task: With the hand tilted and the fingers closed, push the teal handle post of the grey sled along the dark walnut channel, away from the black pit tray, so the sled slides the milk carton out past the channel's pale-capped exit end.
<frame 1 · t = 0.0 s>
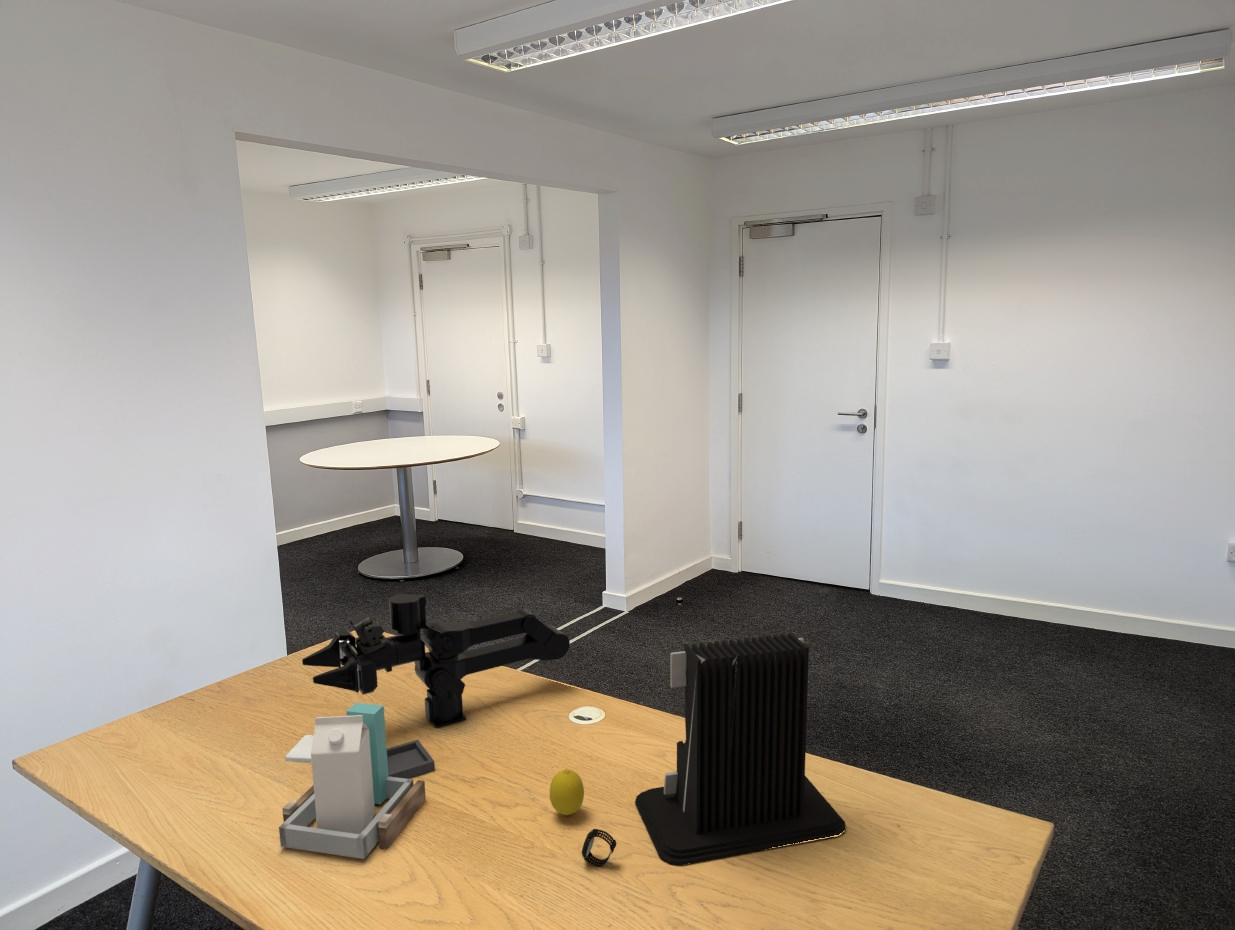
hand: (307, 670, 146), 17 cm above the table, tool horizontal, fingers open, 9 cm apart
smartwatch: (597, 865, 118), on the table
sled: (349, 825, 128), on the table, slide at 0.0 cm
milk carton: (347, 829, 127), on the table
black ribbed block: (737, 816, 130), on the table
channel: (357, 816, 130), on the table
pit tray: (402, 766, 145), on the table
lemon: (567, 816, 130), on the table
external hard drive: (328, 754, 151), on the table
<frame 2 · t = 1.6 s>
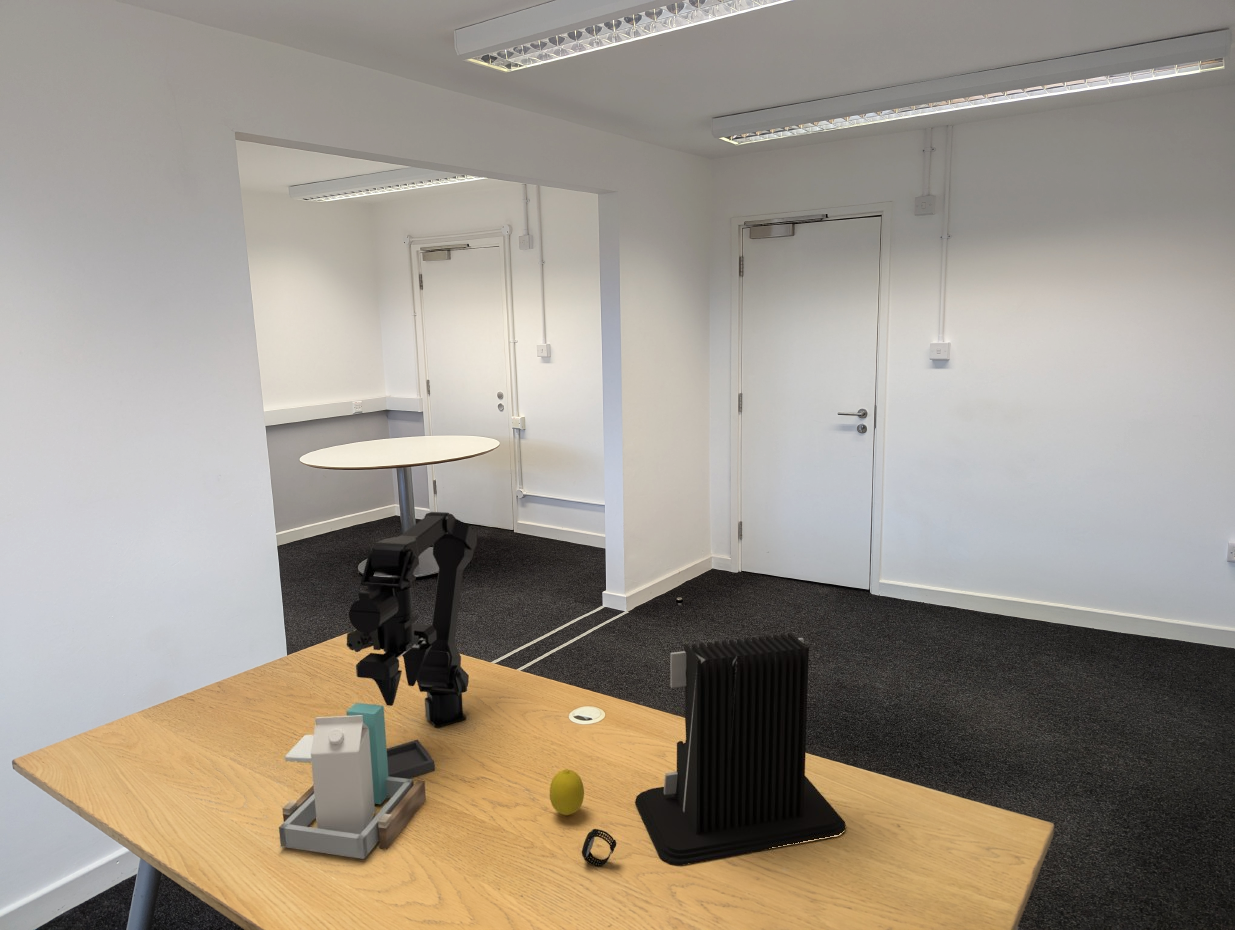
hand: (400, 695, 144), 13 cm above the table, tool pointing down, fingers open, 8 cm apart
nothing on the table moved.
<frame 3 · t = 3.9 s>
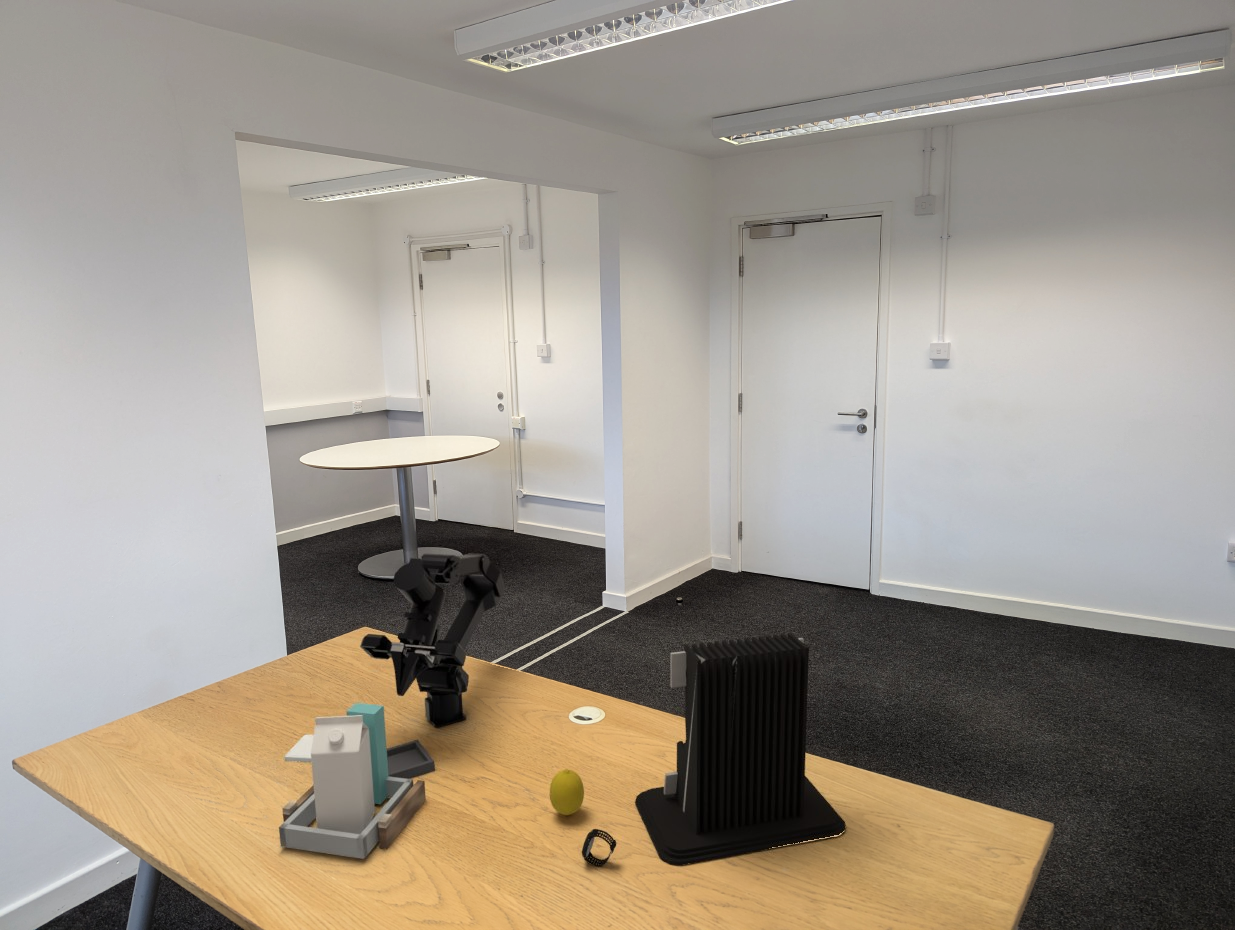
hand: (399, 695, 143), 13 cm above the table, tool tilted 45°, fingers closed
nothing on the table moved.
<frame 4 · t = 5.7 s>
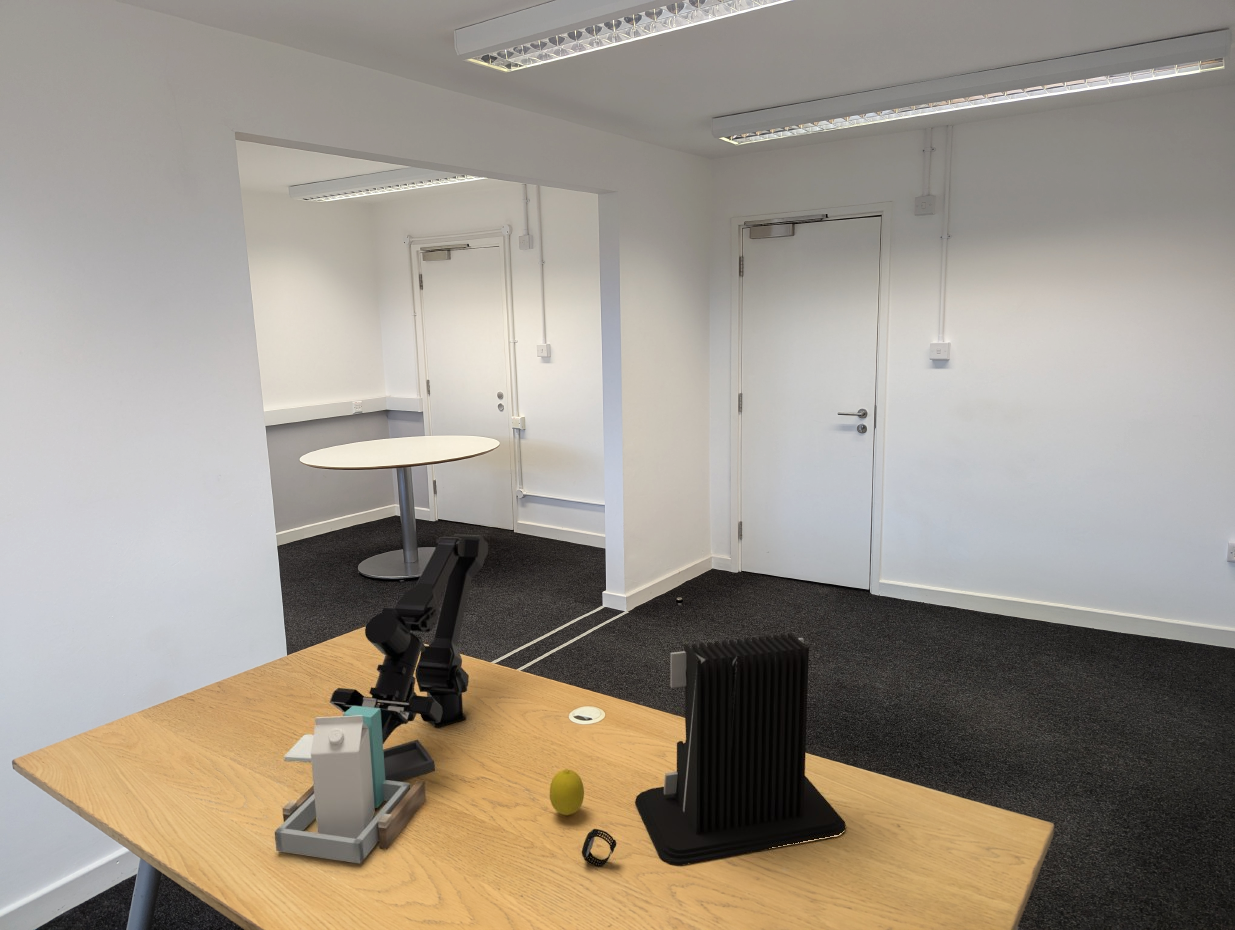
hand: (371, 755, 134), 8 cm above the table, tool tilted 45°, fingers closed, pressing on sled
sled: (345, 829, 127), on the table, slide at 1.1 cm, touching gripper
everything else where it was.
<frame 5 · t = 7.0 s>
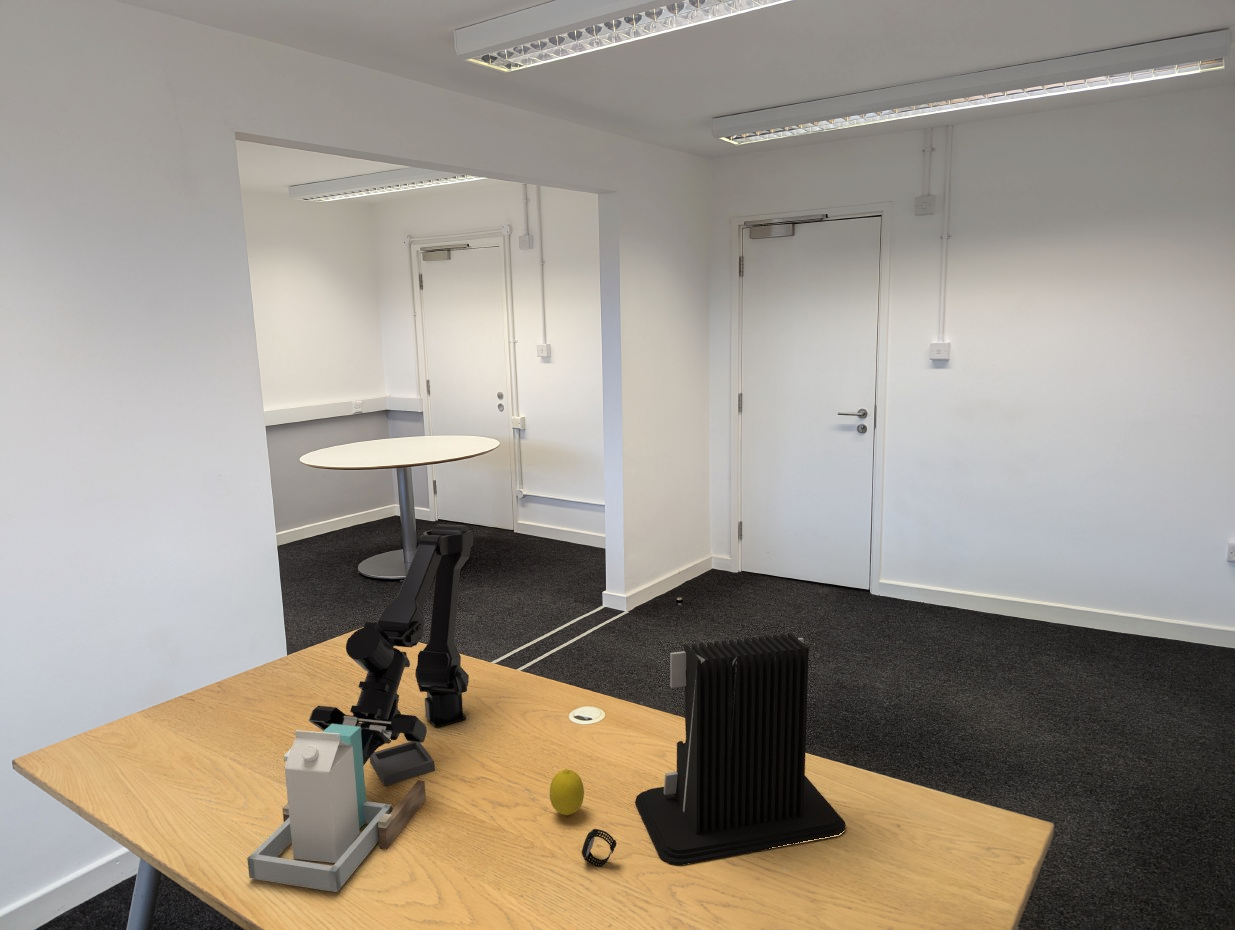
hand: (351, 777, 128), 7 cm above the table, tool tilted 45°, fingers closed, pressing on sled
sled: (323, 854, 121), on the table, slide at 7.2 cm, touching gripper, milk carton
milk carton: (327, 847, 123), on the table, touching sled
everything else where it was.
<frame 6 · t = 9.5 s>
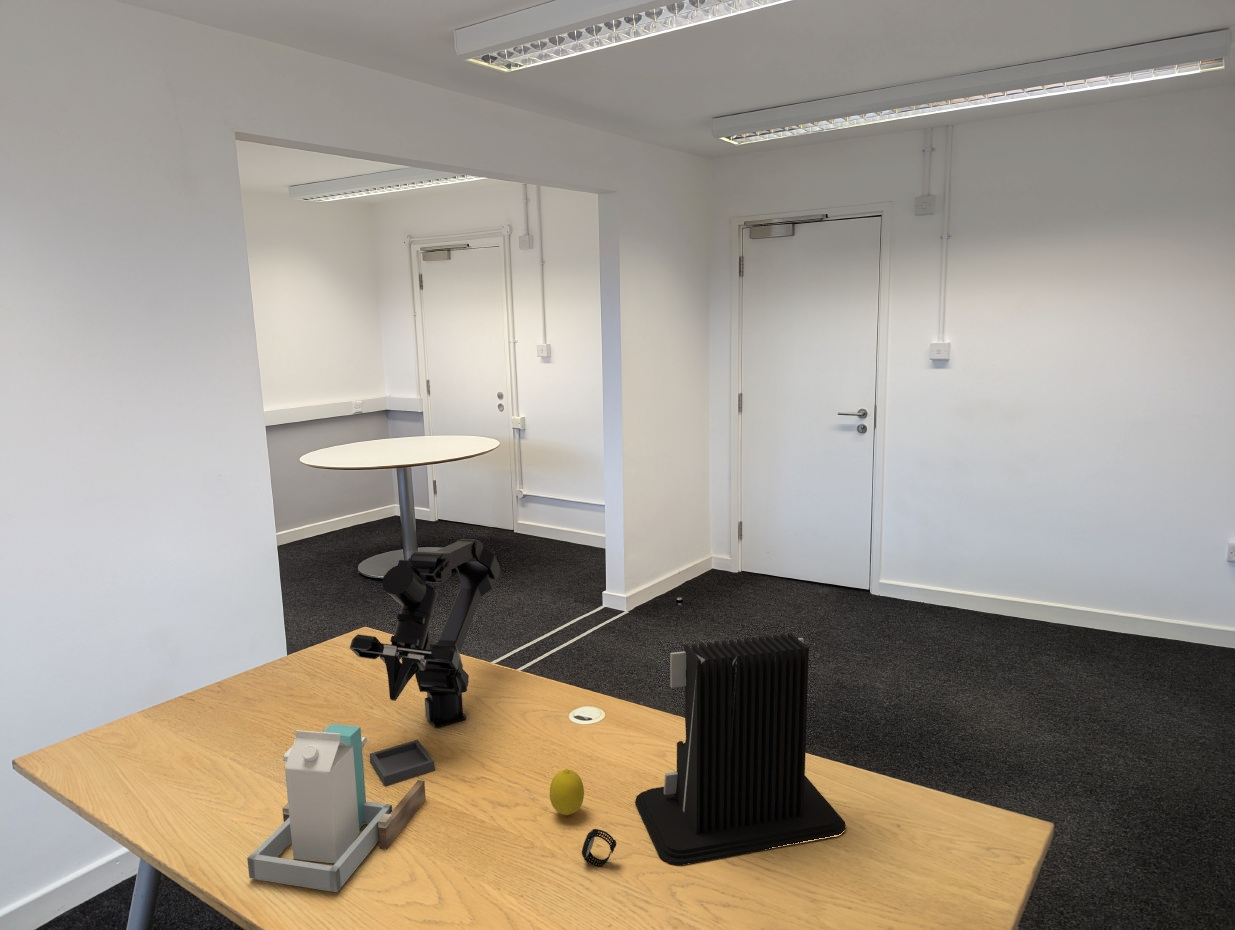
hand: (392, 700, 141), 14 cm above the table, tool tilted 40°, fingers closed
sled: (323, 854, 121), on the table, slide at 7.2 cm
milk carton: (327, 848, 123), on the table
everything else where it was.
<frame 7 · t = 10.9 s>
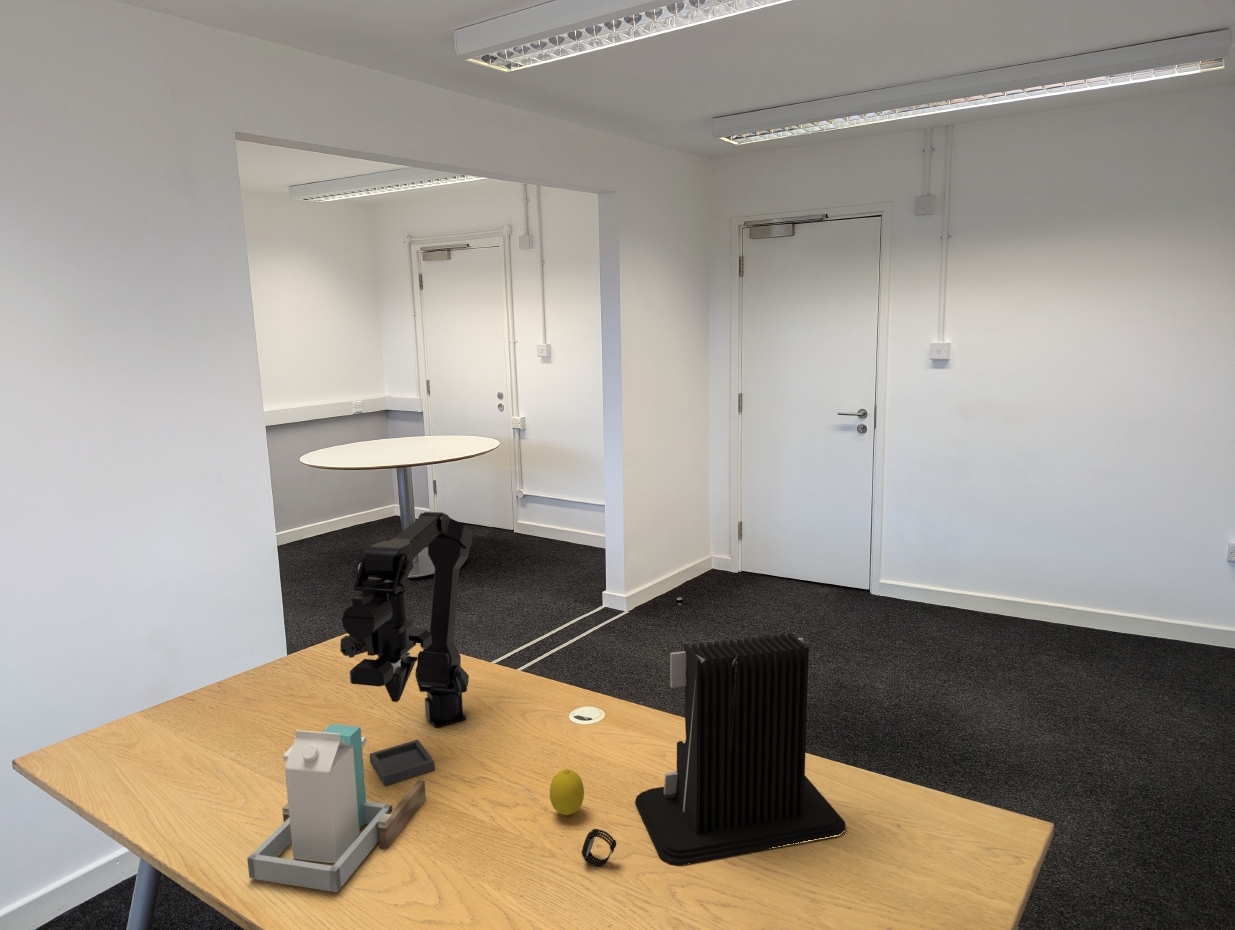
hand: (395, 701, 142), 13 cm above the table, tool pointing down, fingers closed
nothing on the table moved.
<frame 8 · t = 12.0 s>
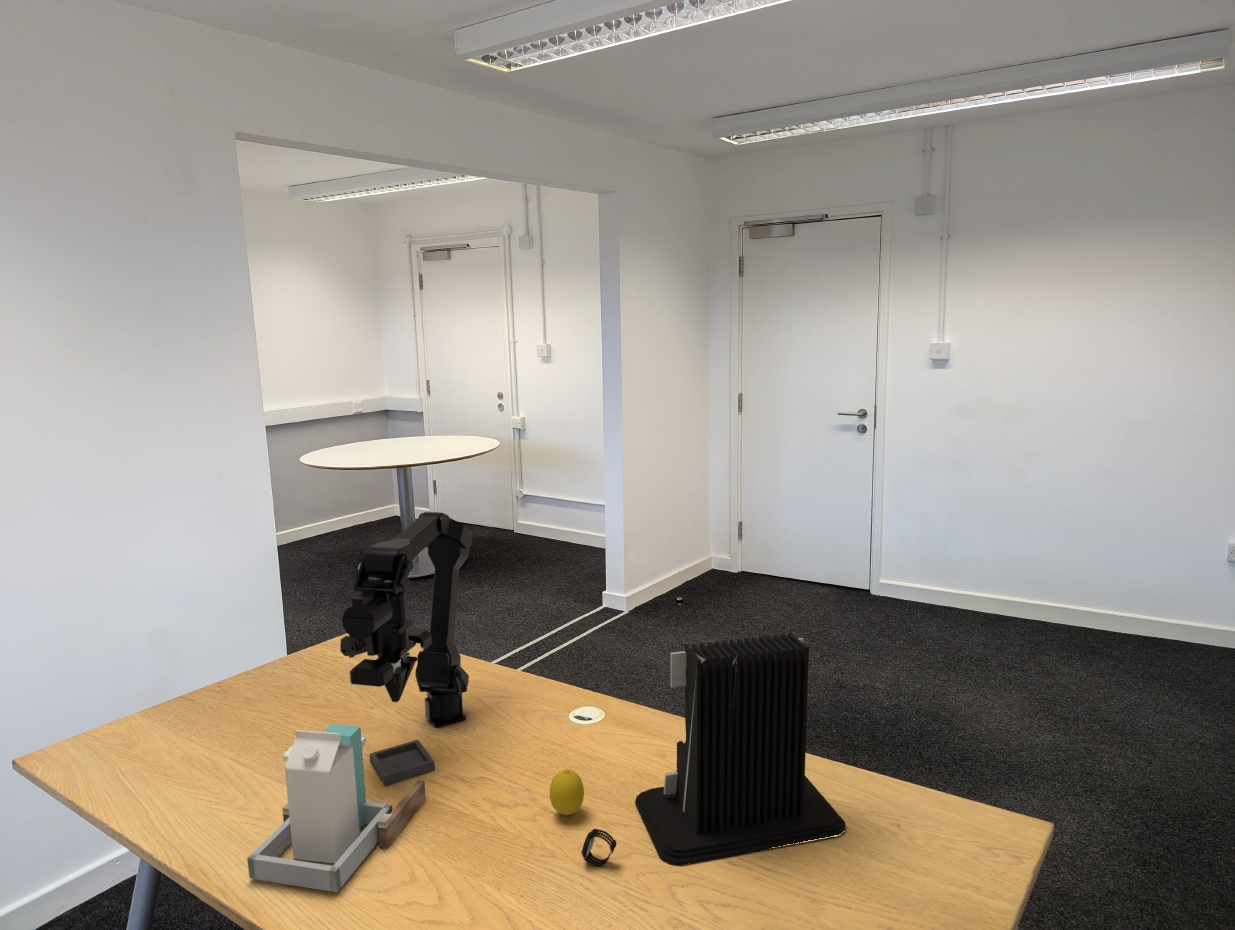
hand: (395, 701, 142), 13 cm above the table, tool pointing down, fingers closed
nothing on the table moved.
at the end: sled slide at 7.2 cm; milk carton inside the target area (5.2 cm from its centre), on the table; milk carton tilted 0° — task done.
